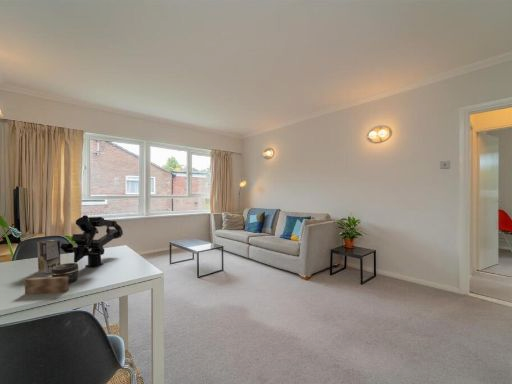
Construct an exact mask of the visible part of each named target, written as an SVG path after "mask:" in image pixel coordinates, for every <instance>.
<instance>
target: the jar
mask: <svg viewBox="0 0 512 384" xmlns="http://www.w3.org/2000/svg"><path fill="white" fill-rule="evenodd" d="M50 274H51V277H68V281H69V285H70V284H73V283H74V282H77V280H78V278H79V264H78V262H77V263H75V262H68V263H67V262H66V263H63V264H61V263H60V265H57V266H55V267H53V268H52V271H51V273H50Z"/></svg>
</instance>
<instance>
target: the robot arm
mask: <svg viewBox="0 0 512 384" xmlns="http://www.w3.org/2000/svg"><path fill="white" fill-rule="evenodd" d="M75 225H76V226H77V227H78V229H80V231H82V233H74V234H73V233H72V237H71V241H73V242H74V244H73V243H71V242H64V243H61V244H60V250H62V251H63V252H64V253H67V254H68V253H69V254H70V253H71V254H72V253H73V263H77V264H78V262H79V261H80V260H82V259H83V258H84V257H87V264H85V265H84V266H85V267H88V268H96V267H98V266H102V265H104V263H103V262H102V255H104V254H105V248H104V246H105V245H107V244H108V243H109V242H111V241H112V240H115V239H119V238H122V236H123V235H124V233H123V232H124V231H123V228H122V226H120V225H119V224H118V222H117V221H116V220H109V219H105V218H104V217H102V216H89V215H87V214H86V215H85V214H84V215H82V217H79V218H78V219H76V220H75ZM100 227H106V231H105V232H106V234H104V235H103V236H101V237H100V238H98V239H94V238H95V237H96V234H99V230H98V228H100Z"/></svg>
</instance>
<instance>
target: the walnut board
mask: <svg viewBox="0 0 512 384" xmlns="http://www.w3.org/2000/svg"><path fill="white" fill-rule="evenodd" d="M69 285H70V284H69V281H68V277H52V276H51V277H50V276H48V277H47V276H46V277H44V276H43V277H28V278H25V279H24V294H25V295H31V294H32V295H35V294H50V293H51V294H53V293H55V294H56V293H66V292H68V291H69V289H70V287H69Z"/></svg>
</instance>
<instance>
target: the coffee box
mask: <svg viewBox="0 0 512 384" xmlns="http://www.w3.org/2000/svg"><path fill="white" fill-rule="evenodd" d="M60 247H61V241H60V240H57V239H47V240H42V241H37V262H38V263H37V265H38V266H37V270H38V272H39V273H43V274H51V271H52V268H53V267H55V266H57V265H61V248H60Z"/></svg>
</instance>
